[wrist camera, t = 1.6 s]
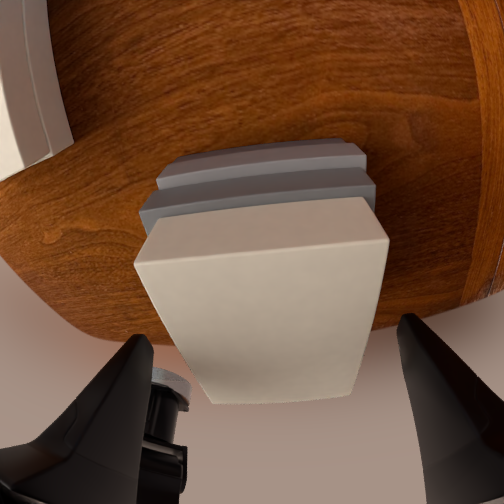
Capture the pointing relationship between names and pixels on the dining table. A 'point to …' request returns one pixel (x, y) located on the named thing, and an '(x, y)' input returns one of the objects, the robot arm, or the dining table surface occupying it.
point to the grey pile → (259, 178)
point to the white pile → (28, 89)
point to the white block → (269, 296)
